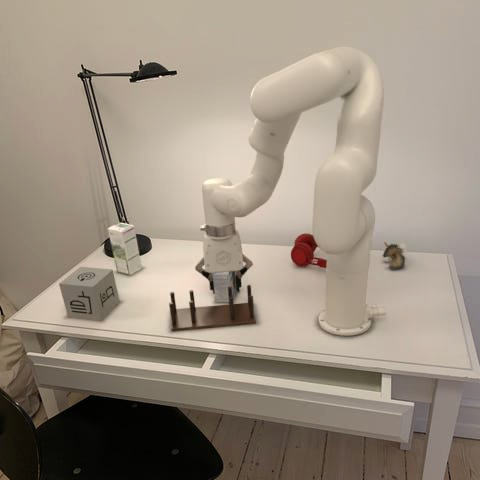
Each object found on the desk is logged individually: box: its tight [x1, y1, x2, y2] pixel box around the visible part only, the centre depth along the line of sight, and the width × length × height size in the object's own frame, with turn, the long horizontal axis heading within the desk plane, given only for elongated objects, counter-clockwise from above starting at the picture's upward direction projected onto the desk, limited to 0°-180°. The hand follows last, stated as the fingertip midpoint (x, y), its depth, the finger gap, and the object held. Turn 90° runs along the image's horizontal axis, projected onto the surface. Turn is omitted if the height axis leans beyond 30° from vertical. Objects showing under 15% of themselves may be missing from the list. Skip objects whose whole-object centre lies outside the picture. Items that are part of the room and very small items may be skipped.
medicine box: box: [213, 271, 237, 303], centre depth 139 cm, size 8×4×9 cm, turn 168°
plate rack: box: [168, 284, 257, 332], centre depth 130 cm, size 21×10×7 cm, turn 94°
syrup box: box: [107, 222, 143, 276], centre depth 155 cm, size 6×6×14 cm
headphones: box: [290, 232, 327, 269], centre depth 155 cm, size 15×7×20 cm
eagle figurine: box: [382, 241, 408, 271], centre depth 151 cm, size 8×7×9 cm
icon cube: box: [58, 266, 120, 322], centre depth 137 cm, size 10×10×10 cm
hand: (226, 290), depth 140 cm, fingers open, 5 cm apart
